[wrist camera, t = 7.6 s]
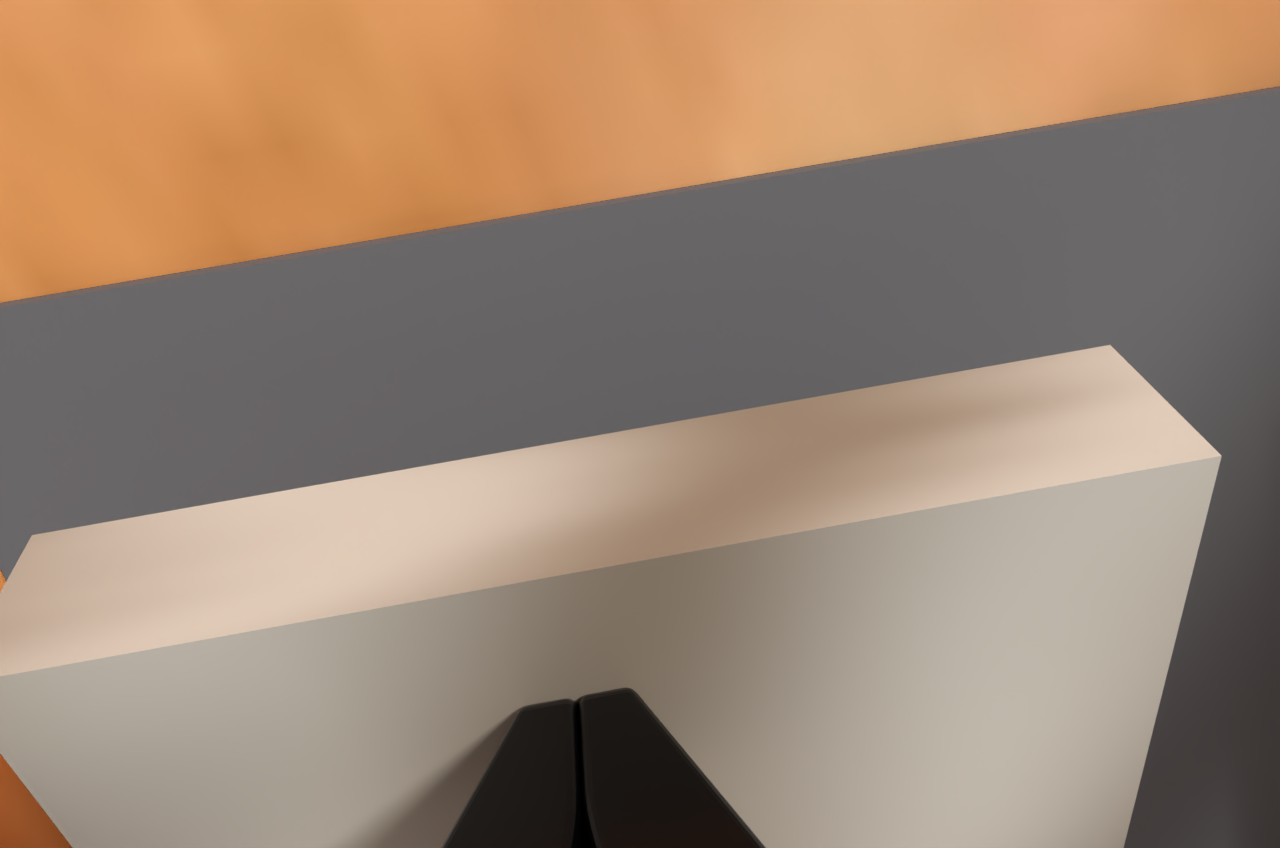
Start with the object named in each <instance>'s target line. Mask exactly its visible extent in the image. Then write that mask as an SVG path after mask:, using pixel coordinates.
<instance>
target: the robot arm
mask: <svg viewBox="0 0 1280 848" xmlns="http://www.w3.org/2000/svg"><path fill="white" fill-rule="evenodd" d="M441 848H766V847H765V846H764V844H763V843H762V842H761V841H760V840H759V838H758V837H757V836H756V835H755V834H754V832H753V831H752V830H751V829H750V828H749V826H748V825H747V824H746V823H745V822H744V820H743V819H742V818H741V817H740V816H739V814H738V813H737V812H736V811H735V810H734V808H733V807H732V806H731V805H730V804H729V802H728V801H727V800H726V799H725V798H724V796H723V795H722V794H721V793H720V792H719V790H718V789H717V788H716V787H715V786H714V784H713V783H712V782H711V781H710V780H709V778H708V777H707V776H706V775H705V774H704V772H703V771H702V770H701V769H700V768H699V766H698V765H697V764H696V763H695V762H694V760H693V759H692V758H691V757H690V756H689V754H688V753H687V752H686V751H685V750H684V748H683V747H682V746H681V745H680V744H679V742H678V741H677V740H676V739H675V738H674V736H673V735H672V734H671V733H670V732H669V730H668V729H667V728H666V727H665V726H664V724H663V723H662V722H661V721H660V720H659V718H658V717H657V716H656V715H655V714H654V712H653V711H652V710H651V709H650V708H649V706H648V705H647V704H646V703H645V702H644V700H643V699H642V698H641V697H640V696H639V695H638V693H637V692H635V691H634V690H633V689H631V688H619V689H614V690H608V691H603V692H598V693H592V694H587V695H584V696H583V697H582V698H581V699H580V702H579V710H578V707H577V704H576V703H575V702H574V701H573V700H572V699H569V698H565V699H559V700H554V701H548V702H543V703H537V704H532V705H527V706H525V707H523V708H522V709H521V710H519V711H518V713H517V714H516V716H515V718H514V720H513V722H512V723H511V725H510V727H509V729H508V730H507V732H506V734H505V736H504V737H503V739H502V741H501V743H500V745H499V746H498V748H497V750H496V752H495V753H494V755H493V757H492V759H491V760H490V762H489V764H488V766H487V768H486V769H485V771H484V773H483V775H482V776H481V778H480V780H479V782H478V784H477V785H476V787H475V789H474V791H473V792H472V794H471V796H470V798H469V799H468V801H467V803H466V805H465V807H464V808H463V810H462V812H461V814H460V815H459V817H458V819H457V821H456V822H455V824H454V826H453V828H452V830H451V831H450V833H449V835H448V837H447V838H446V840H445V842H444V844H443V845H442V847H441Z"/></svg>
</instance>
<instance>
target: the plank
mask: <svg viewBox="0 0 1280 848" xmlns="http://www.w3.org/2000/svg"><path fill="white" fill-rule="evenodd" d="M1221 457H1222V456H1221V455H1220V454H1219V453H1218V452H1217V451H1216V450H1215V449H1214V448H1213V447H1212V446H1211V445H1210V444H1209V443H1208V442H1207V441H1206V440H1205V439H1204V438H1203V437H1202V436H1201V435H1200V434H1199V433H1198V432H1197V431H1196V430H1195V429H1194V428H1193V427H1192V426H1191V425H1190V424H1189V423H1188V422H1187V421H1186V420H1185V419H1184V418H1183V417H1182V416H1181V415H1180V414H1179V413H1178V412H1177V411H1176V410H1175V409H1174V408H1173V407H1172V406H1171V405H1170V404H1169V403H1168V402H1167V401H1166V400H1165V399H1164V398H1163V397H1162V396H1161V395H1160V394H1159V393H1158V392H1157V391H1156V390H1155V389H1154V388H1153V387H1152V386H1151V385H1150V384H1149V383H1148V382H1147V381H1146V380H1145V379H1144V378H1143V377H1142V376H1141V375H1140V374H1139V373H1138V372H1137V371H1136V370H1135V369H1134V368H1133V367H1132V366H1131V365H1130V364H1129V363H1128V362H1127V361H1126V360H1125V359H1124V358H1123V357H1122V356H1121V355H1120V354H1119V353H1118V352H1117V351H1116V350H1115V349H1114V348H1113V347H1112V346H1111V345H1107V346H1101V347H1095V348H1090V349H1084V350H1078V351H1073V352H1067V353H1061V354H1056V355H1050V356H1044V357H1039V358H1033V359H1027V360H1022V361H1016V362H1010V363H1005V364H999V365H993V366H988V367H982V368H976V369H971V370H965V371H959V372H954V373H948V374H942V375H937V376H931V377H925V378H920V379H914V380H908V381H903V382H897V383H891V384H886V385H880V386H874V387H869V388H863V389H857V390H852V391H846V392H840V393H835V394H829V395H823V396H818V397H812V398H806V399H801V400H795V401H789V402H784V403H778V404H772V405H767V406H761V407H755V408H750V409H744V410H738V411H733V412H727V413H721V414H716V415H710V416H704V417H699V418H693V419H687V420H682V421H676V422H670V423H665V424H659V425H653V426H648V427H642V428H636V429H631V430H625V431H619V432H614V433H608V434H602V435H597V436H591V437H585V438H580V439H574V440H568V441H563V442H557V443H551V444H546V445H540V446H534V447H529V448H523V449H517V450H512V451H506V452H500V453H495V454H489V455H483V456H478V457H472V458H466V459H461V460H455V461H449V462H444V463H438V464H432V465H427V466H421V467H415V468H410V469H404V470H398V471H393V472H387V473H381V474H376V475H370V476H364V477H359V478H353V479H347V480H342V481H336V482H330V483H325V484H319V485H313V486H308V487H302V488H296V489H291V490H285V491H279V492H274V493H268V494H262V495H257V496H251V497H245V498H240V499H234V500H228V501H223V502H217V503H211V504H206V505H200V506H194V507H189V508H183V509H177V510H172V511H166V512H160V513H155V514H149V515H143V516H138V517H132V518H127V519H121V520H115V521H110V522H104V523H98V524H93V525H87V526H81V527H76V528H70V529H64V530H59V531H53V532H47V533H42V534H36V535H32V536H31V538H30V540H29V541H28V543H27V545H26V547H25V549H24V550H23V552H22V554H21V556H20V558H19V560H18V561H17V563H16V565H15V567H14V569H13V570H12V572H11V574H10V576H9V578H8V579H7V581H6V583H5V585H4V587H3V588H2V590H1V592H0V754H1V755H2V756H3V758H4V759H5V760H6V761H7V763H8V764H9V765H10V767H11V768H12V769H13V771H14V772H15V773H16V775H17V776H18V777H19V778H20V780H21V781H22V782H23V784H24V785H25V786H26V788H27V789H28V790H29V792H30V793H31V794H32V795H33V797H34V798H35V799H36V801H37V802H38V803H39V805H40V806H41V807H42V809H43V810H44V811H45V812H46V814H47V815H48V816H49V818H50V819H51V820H52V822H53V823H54V824H55V826H56V827H57V828H58V829H59V831H60V832H61V833H62V835H63V836H64V837H65V839H66V840H67V841H68V843H69V844H70V845H71V846H72V848H441V847H442V845H443V844H444V842H445V840H446V838H447V837H448V835H449V833H450V831H451V830H452V828H453V826H454V824H455V822H456V821H457V819H458V817H459V815H460V814H461V812H462V810H463V808H464V807H465V805H466V803H467V801H468V799H469V798H470V796H471V794H472V792H473V791H474V789H475V787H476V785H477V784H478V782H479V780H480V778H481V776H482V775H483V773H484V771H485V769H486V768H487V766H488V764H489V762H490V760H491V759H492V757H493V755H494V753H495V752H496V750H497V748H498V746H499V745H500V743H501V741H502V739H503V737H504V736H505V734H506V732H507V730H508V729H509V727H510V725H511V723H512V722H513V720H514V718H515V716H516V714H517V713H518V711H519V710H521V709H522V708H523V707H525V706H527V705H532V704H537V703H543V702H548V701H554V700H559V699H565V698H569V699H572V700H573V701H574V702H575V703H576V704H577V707H578V710H579V702H580V699H581V698H582V697H583V696H584V695H587V694H592V693H598V692H603V691H608V690H614V689H619V688H631V689H633V690H634V691H635V692H637V693H638V695H639V696H640V697H641V698H642V699H643V700H644V702H645V703H646V704H647V705H648V706H649V708H650V709H651V710H652V711H653V712H654V714H655V715H656V716H657V717H658V718H659V720H660V721H661V722H662V723H663V724H664V726H665V727H666V728H667V729H668V730H669V732H670V733H671V734H672V735H673V736H674V738H675V739H676V740H677V741H678V742H679V744H680V745H681V746H682V747H683V748H684V750H685V751H686V752H687V753H688V754H689V756H690V757H691V758H692V759H693V760H694V762H695V763H696V764H697V765H698V766H699V768H700V769H701V770H702V771H703V772H704V774H705V775H706V776H707V777H708V778H709V780H710V781H711V782H712V783H713V784H714V786H715V787H716V788H717V789H718V790H719V792H720V793H721V794H722V795H723V796H724V798H725V799H726V800H727V801H728V802H729V804H730V805H731V806H732V807H733V808H734V810H735V811H736V812H737V813H738V814H739V816H740V817H741V818H742V819H743V820H744V822H745V823H746V824H747V825H748V826H749V828H750V829H751V830H752V831H753V832H754V834H755V835H756V836H757V837H758V838H759V840H760V841H761V842H762V843H763V844H764V846H765V847H766V848H1124V844H1125V840H1126V836H1127V832H1128V828H1129V824H1130V820H1131V816H1132V812H1133V808H1134V804H1135V800H1136V796H1137V792H1138V788H1139V784H1140V780H1141V776H1142V772H1143V768H1144V764H1145V760H1146V756H1147V752H1148V748H1149V744H1150V740H1151V736H1152V732H1153V728H1154V724H1155V720H1156V716H1157V712H1158V708H1159V704H1160V700H1161V696H1162V692H1163V688H1164V684H1165V680H1166V676H1167V672H1168V668H1169V664H1170V660H1171V656H1172V652H1173V648H1174V644H1175V640H1176V636H1177V632H1178V628H1179V624H1180V620H1181V616H1182V612H1183V608H1184V604H1185V600H1186V596H1187V592H1188V588H1189V584H1190V580H1191V576H1192V572H1193V568H1194V564H1195V560H1196V556H1197V552H1198V548H1199V544H1200V540H1201V536H1202V532H1203V528H1204V524H1205V520H1206V516H1207V512H1208V508H1209V504H1210V500H1211V496H1212V492H1213V488H1214V484H1215V480H1216V476H1217V472H1218V469H1219V465H1220V461H1221Z"/></svg>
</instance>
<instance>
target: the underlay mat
mask: <svg viewBox="0 0 1280 848" xmlns="http://www.w3.org/2000/svg"><path fill="white" fill-rule="evenodd" d="M1107 345H1111V346H1112V347H1113V348H1114V349H1115V350H1116V351H1117V352H1118V353H1119V354H1120V355H1121V356H1122V357H1123V358H1124V359H1125V360H1126V361H1127V362H1128V363H1129V364H1130V365H1131V366H1132V367H1133V368H1134V369H1135V370H1136V371H1137V372H1138V373H1139V374H1140V375H1141V376H1142V377H1143V378H1144V379H1145V380H1146V381H1147V382H1148V383H1149V384H1150V385H1151V386H1152V387H1153V388H1154V389H1155V390H1156V391H1157V392H1158V393H1159V394H1160V395H1161V396H1162V397H1163V398H1164V399H1165V400H1166V401H1167V402H1168V403H1169V404H1170V405H1171V406H1172V407H1173V408H1174V409H1175V410H1176V411H1177V412H1178V413H1179V414H1180V415H1181V416H1182V417H1183V418H1184V419H1185V420H1186V421H1187V422H1188V423H1189V424H1190V425H1191V426H1192V427H1193V428H1194V429H1195V430H1196V431H1197V432H1198V433H1199V434H1200V435H1201V436H1202V437H1203V438H1204V439H1205V440H1206V441H1207V442H1208V443H1209V444H1210V445H1211V446H1212V447H1213V448H1214V449H1215V450H1216V451H1217V452H1218V453H1219V454H1220V455H1221V456H1222V457H1221V461H1220V465H1219V469H1218V472H1217V476H1216V480H1215V484H1214V488H1213V492H1212V496H1211V500H1210V504H1209V508H1208V512H1207V516H1206V520H1205V524H1204V528H1203V532H1202V536H1201V540H1200V544H1199V548H1198V552H1197V556H1196V560H1195V564H1194V568H1193V572H1192V576H1191V580H1190V584H1189V588H1188V592H1187V596H1186V600H1185V604H1184V608H1183V612H1182V616H1181V620H1180V624H1179V628H1178V632H1177V636H1176V640H1175V644H1174V648H1173V652H1172V656H1171V660H1170V664H1169V668H1168V672H1167V676H1166V680H1165V684H1164V688H1163V692H1162V696H1161V700H1160V704H1159V708H1158V712H1157V716H1156V720H1155V724H1154V728H1153V732H1152V736H1151V740H1150V744H1149V748H1148V752H1147V756H1146V760H1145V764H1144V768H1143V772H1142V776H1141V780H1140V784H1139V788H1138V792H1137V796H1136V800H1135V804H1134V808H1133V812H1132V816H1131V820H1130V824H1129V828H1128V832H1127V836H1126V840H1125V844H1124V848H1280V86H1279V87H1273V88H1267V89H1261V90H1255V91H1249V92H1244V93H1238V94H1232V95H1226V96H1220V97H1214V98H1208V99H1202V100H1196V101H1190V102H1184V103H1179V104H1173V105H1167V106H1161V107H1155V108H1149V109H1143V110H1137V111H1131V112H1125V113H1119V114H1114V115H1108V116H1102V117H1096V118H1090V119H1084V120H1078V121H1072V122H1066V123H1060V124H1054V125H1049V126H1043V127H1037V128H1031V129H1025V130H1019V131H1013V132H1007V133H1001V134H995V135H990V136H984V137H978V138H972V139H966V140H960V141H954V142H948V143H942V144H936V145H930V146H925V147H919V148H913V149H907V150H901V151H895V152H889V153H883V154H877V155H871V156H865V157H860V158H854V159H848V160H842V161H836V162H830V163H824V164H818V165H812V166H806V167H800V168H795V169H789V170H783V171H777V172H771V173H765V174H759V175H753V176H747V177H741V178H736V179H730V180H724V181H718V182H712V183H706V184H700V185H694V186H688V187H682V188H676V189H671V190H665V191H659V192H653V193H647V194H641V195H635V196H629V197H623V198H617V199H611V200H606V201H600V202H594V203H588V204H582V205H576V206H570V207H564V208H558V209H552V210H547V211H541V212H535V213H529V214H523V215H517V216H511V217H505V218H499V219H493V220H487V221H482V222H476V223H470V224H464V225H458V226H452V227H446V228H440V229H434V230H428V231H422V232H417V233H411V234H405V235H399V236H393V237H387V238H381V239H375V240H369V241H363V242H357V243H352V244H346V245H340V246H334V247H328V248H322V249H316V250H310V251H304V252H298V253H293V254H287V255H281V256H275V257H269V258H263V259H257V260H251V261H245V262H239V263H233V264H228V265H222V266H216V267H210V268H204V269H198V270H192V271H186V272H180V273H174V274H168V275H163V276H157V277H151V278H145V279H139V280H133V281H127V282H121V283H115V284H109V285H103V286H98V287H92V288H86V289H80V290H74V291H68V292H62V293H56V294H50V295H44V296H39V297H33V298H27V299H21V300H15V301H9V302H3V303H0V569H1V571H2V573H3V575H4V577H5V580H6V581H7V579H8V578H9V576H10V574H11V572H12V570H13V569H14V567H15V565H16V563H17V561H18V560H19V558H20V556H21V554H22V552H23V550H24V549H25V547H26V545H27V543H28V541H29V540H30V538H31V536H32V535H36V534H42V533H47V532H53V531H59V530H64V529H70V528H76V527H81V526H87V525H93V524H98V523H104V522H110V521H115V520H121V519H127V518H132V517H138V516H143V515H149V514H155V513H160V512H166V511H172V510H177V509H183V508H189V507H194V506H200V505H206V504H211V503H217V502H223V501H228V500H234V499H240V498H245V497H251V496H257V495H262V494H268V493H274V492H279V491H285V490H291V489H296V488H302V487H308V486H313V485H319V484H325V483H330V482H336V481H342V480H347V479H353V478H359V477H364V476H370V475H376V474H381V473H387V472H393V471H398V470H404V469H410V468H415V467H421V466H427V465H432V464H438V463H444V462H449V461H455V460H461V459H466V458H472V457H478V456H483V455H489V454H495V453H500V452H506V451H512V450H517V449H523V448H529V447H534V446H540V445H546V444H551V443H557V442H563V441H568V440H574V439H580V438H585V437H591V436H597V435H602V434H608V433H614V432H619V431H625V430H631V429H636V428H642V427H648V426H653V425H659V424H665V423H670V422H676V421H682V420H687V419H693V418H699V417H704V416H710V415H716V414H721V413H727V412H733V411H738V410H744V409H750V408H755V407H761V406H767V405H772V404H778V403H784V402H789V401H795V400H801V399H806V398H812V397H818V396H823V395H829V394H835V393H840V392H846V391H852V390H857V389H863V388H869V387H874V386H880V385H886V384H891V383H897V382H903V381H908V380H914V379H920V378H925V377H931V376H937V375H942V374H948V373H954V372H959V371H965V370H971V369H976V368H982V367H988V366H993V365H999V364H1005V363H1010V362H1016V361H1022V360H1027V359H1033V358H1039V357H1044V356H1050V355H1056V354H1061V353H1067V352H1073V351H1078V350H1084V349H1090V348H1095V347H1101V346H1107Z"/></svg>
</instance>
